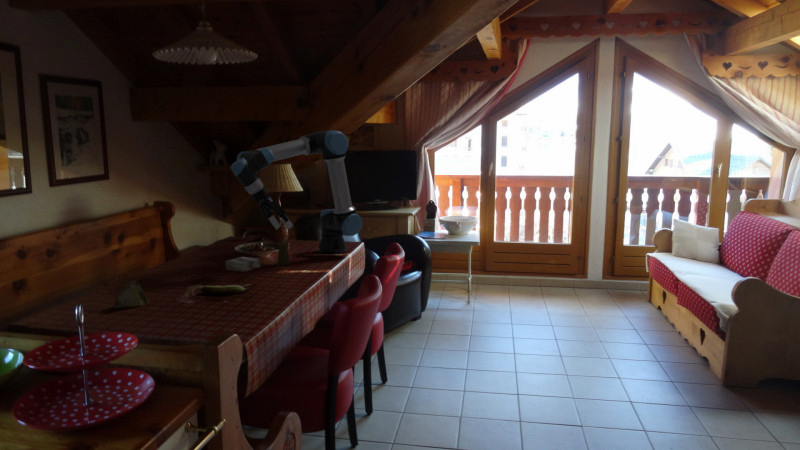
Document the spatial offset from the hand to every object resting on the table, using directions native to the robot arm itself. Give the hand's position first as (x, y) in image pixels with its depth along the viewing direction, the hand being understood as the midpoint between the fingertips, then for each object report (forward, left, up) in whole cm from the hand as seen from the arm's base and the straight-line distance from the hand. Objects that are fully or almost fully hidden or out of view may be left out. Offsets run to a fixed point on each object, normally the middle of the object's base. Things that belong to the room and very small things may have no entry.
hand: (284, 227), depth 251 cm
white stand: (+9, -18, -19) cm, 28 cm away
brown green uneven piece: (+44, +5, -20) cm, 49 cm away
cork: (-7, -7, -19) cm, 22 cm away
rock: (+72, -13, -20) cm, 76 cm away
